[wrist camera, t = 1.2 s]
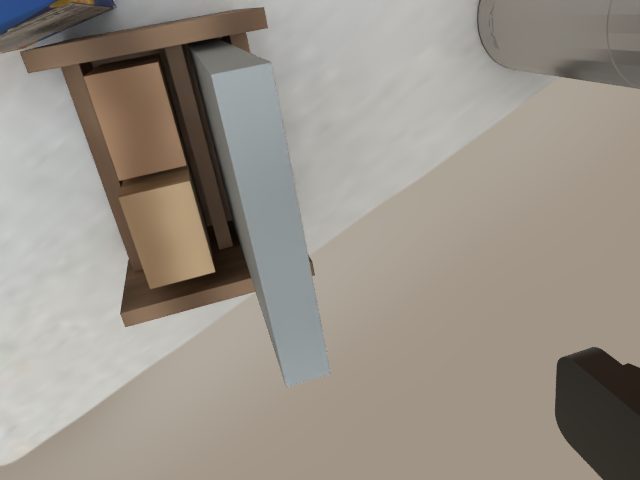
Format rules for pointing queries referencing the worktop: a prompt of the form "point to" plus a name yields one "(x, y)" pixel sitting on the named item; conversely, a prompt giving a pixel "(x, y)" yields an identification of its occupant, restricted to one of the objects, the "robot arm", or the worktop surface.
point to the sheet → (262, 200)
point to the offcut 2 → (167, 225)
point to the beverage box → (43, 19)
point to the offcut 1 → (137, 116)
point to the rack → (189, 108)
